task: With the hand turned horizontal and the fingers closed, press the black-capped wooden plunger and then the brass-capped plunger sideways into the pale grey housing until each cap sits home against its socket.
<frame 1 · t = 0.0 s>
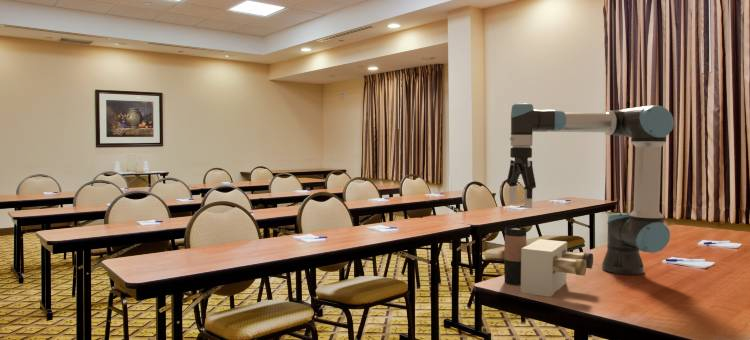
hand: (520, 205, 192), 28 cm above the table, tool pointing down, fingers open, 13 cm apart
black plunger: (571, 258, 187), point 10 cm above the table, slide at 0.0 cm
travel mug: (514, 283, 193), on the table
brass plunger: (563, 265, 177), point 10 cm above the table, slide at 0.0 cm
housing: (544, 287, 187), on the table
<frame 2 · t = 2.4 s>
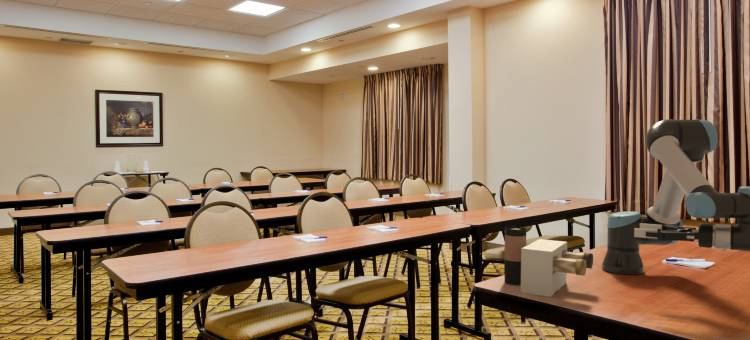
hand: (637, 229, 176), 22 cm above the table, tool horizontal, fingers open, 13 cm apart
nothing on the table moved.
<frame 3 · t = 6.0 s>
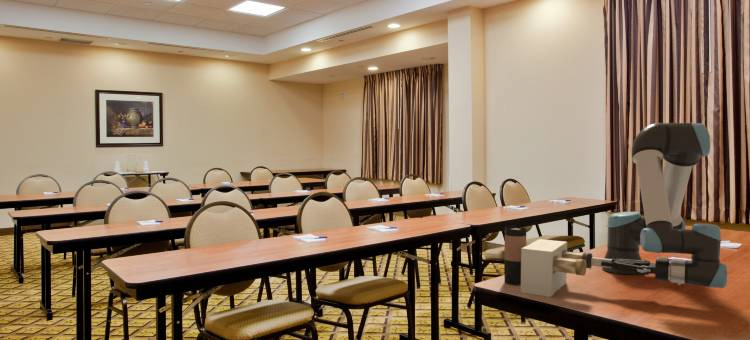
hand: (591, 261, 183), 10 cm above the table, tool horizontal, fingers closed
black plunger: (570, 258, 187), point 10 cm above the table, slide at 0.2 cm, touching gripper
everything else where it was.
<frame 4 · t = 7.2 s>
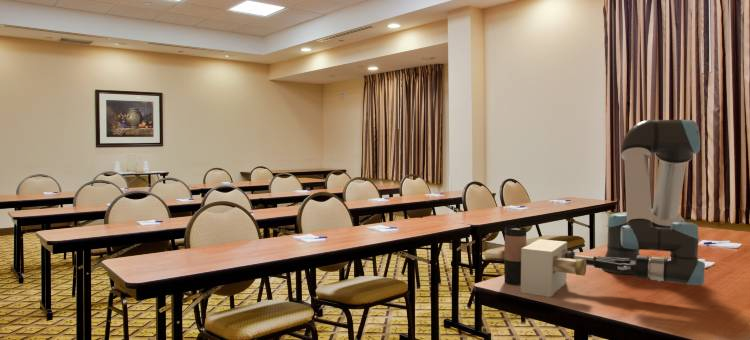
hand: (574, 259, 187), 10 cm above the table, tool horizontal, fingers closed
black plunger: (553, 256, 191), point 10 cm above the table, slide at 6.0 cm, touching gripper
everything else where it was.
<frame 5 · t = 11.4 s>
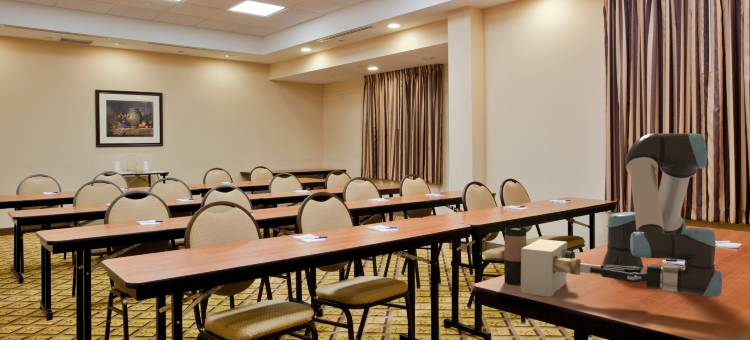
hand: (580, 267, 174), 10 cm above the table, tool horizontal, fingers closed
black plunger: (553, 256, 191), point 10 cm above the table, slide at 6.0 cm
brass plunger: (558, 264, 178), point 10 cm above the table, slide at 1.7 cm, touching gripper
everything else where it was.
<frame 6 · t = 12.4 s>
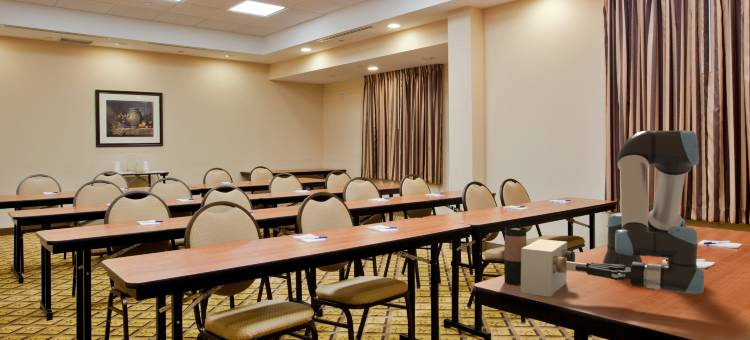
hand: (566, 265, 177), 10 cm above the table, tool horizontal, fingers closed
brass plunger: (545, 262, 180), point 10 cm above the table, slide at 6.1 cm, touching gripper
everything else where it was.
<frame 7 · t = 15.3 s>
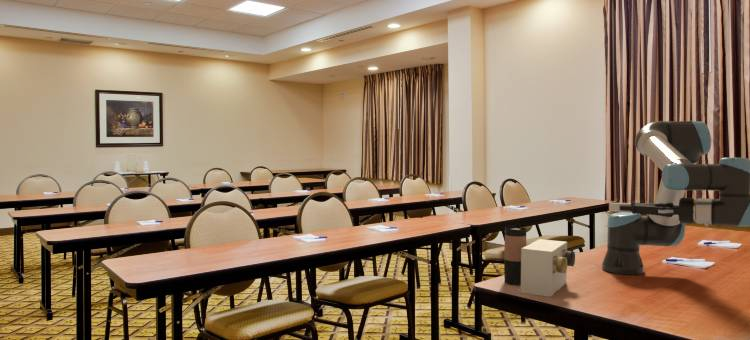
hand: (609, 206, 171), 30 cm above the table, tool horizontal, fingers closed
brass plunger: (545, 262, 180), point 10 cm above the table, slide at 6.0 cm
everything else where it was.
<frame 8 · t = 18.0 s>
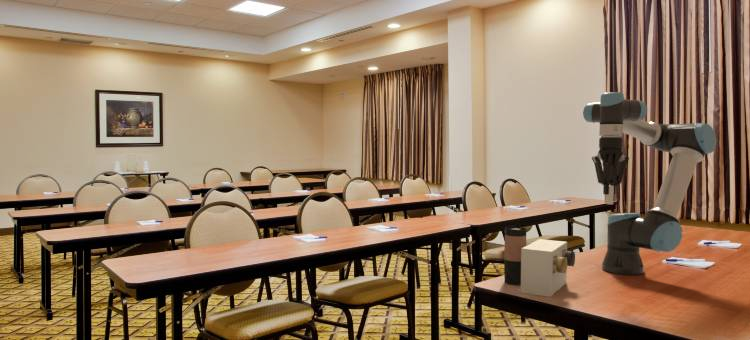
hand: (609, 203, 187), 29 cm above the table, tool pointing down, fingers closed
nothing on the table moved.
at the end: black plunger slide at 6.0 cm; brass plunger slide at 6.0 cm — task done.
